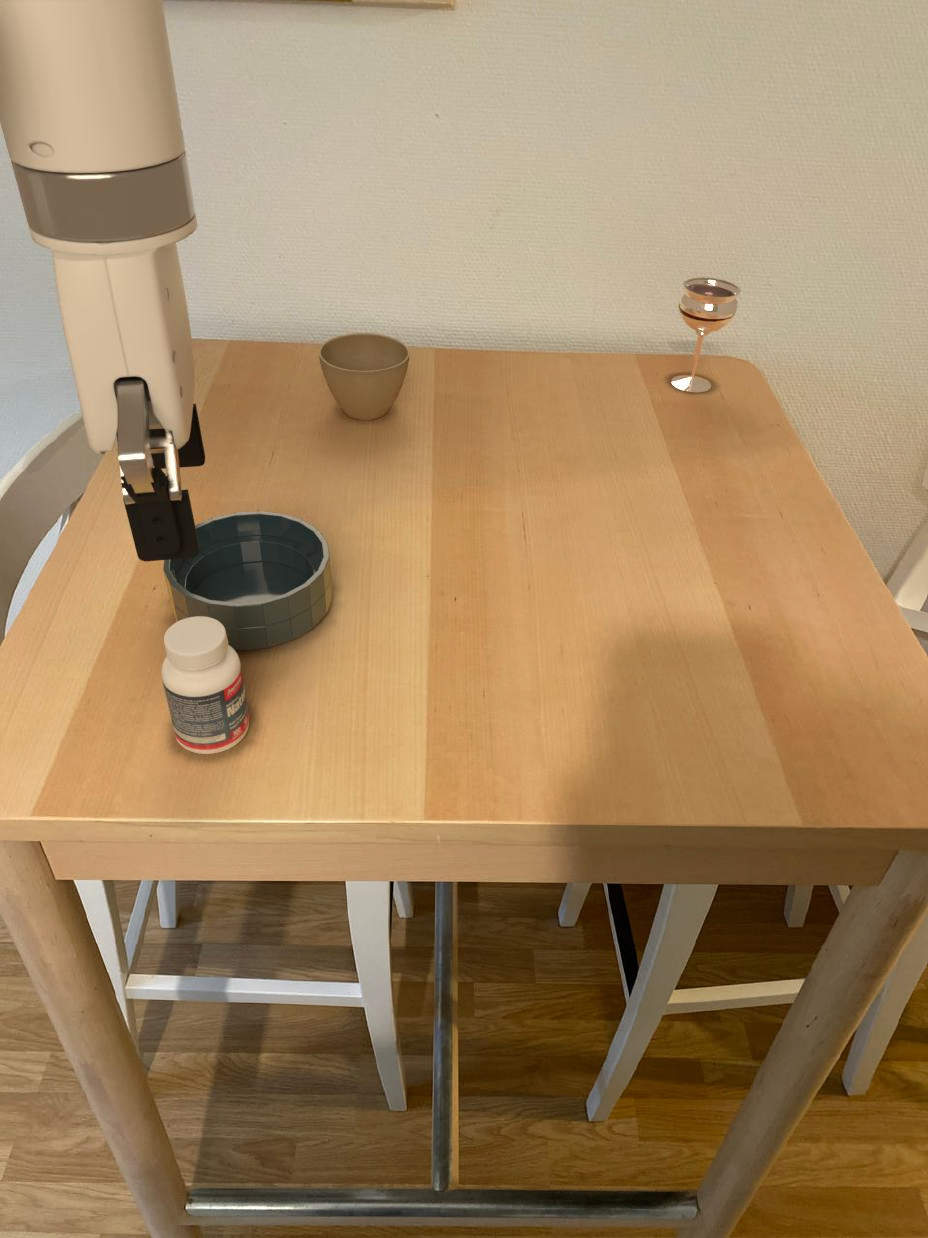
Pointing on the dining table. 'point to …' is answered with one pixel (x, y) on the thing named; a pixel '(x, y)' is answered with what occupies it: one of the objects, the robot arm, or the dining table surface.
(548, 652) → the dining table surface
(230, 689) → the pill bottle
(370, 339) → the flower pot
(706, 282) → the wineglass
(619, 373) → the dining table surface
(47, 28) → the robot arm
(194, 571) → the bowl
